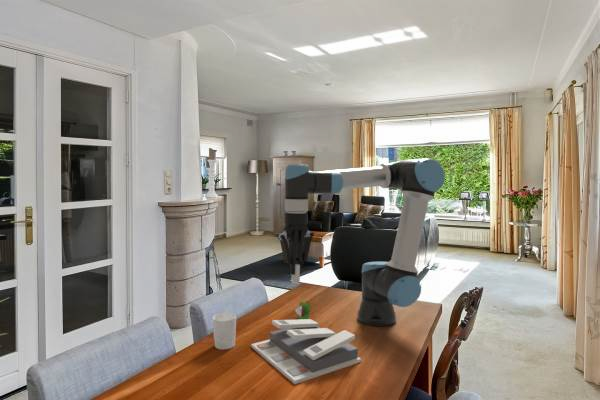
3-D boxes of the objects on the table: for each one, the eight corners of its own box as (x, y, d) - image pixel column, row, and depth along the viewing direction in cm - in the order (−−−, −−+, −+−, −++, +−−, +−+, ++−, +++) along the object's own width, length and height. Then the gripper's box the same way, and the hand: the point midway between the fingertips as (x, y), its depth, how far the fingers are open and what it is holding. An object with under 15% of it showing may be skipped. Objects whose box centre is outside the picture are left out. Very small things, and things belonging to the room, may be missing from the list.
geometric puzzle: (300, 308, 163) (296, 297, 158) (316, 310, 161) (312, 298, 156) (296, 323, 158) (291, 312, 153) (312, 325, 156) (308, 314, 151)
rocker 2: (326, 331, 134) (326, 327, 134) (335, 336, 129) (335, 332, 129) (286, 333, 125) (286, 329, 125) (294, 339, 121) (295, 335, 121)
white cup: (231, 351, 128) (231, 321, 128) (209, 349, 130) (208, 320, 129) (240, 341, 136) (239, 313, 135) (218, 339, 138) (218, 311, 137)
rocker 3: (345, 333, 125) (344, 329, 125) (355, 338, 121) (354, 334, 121) (303, 353, 117) (303, 349, 117) (313, 360, 113) (312, 356, 113)
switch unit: (310, 331, 144) (310, 321, 144) (361, 361, 121) (361, 349, 120) (251, 347, 132) (251, 335, 131) (294, 384, 108) (294, 370, 108)
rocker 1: (310, 322, 142) (310, 318, 142) (317, 326, 138) (318, 323, 138) (271, 323, 134) (272, 320, 134) (278, 328, 129) (279, 324, 129)
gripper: (306, 210, 134) (305, 278, 135) (273, 211, 126) (272, 283, 128) (319, 212, 127) (318, 283, 129) (285, 213, 120) (284, 289, 121)
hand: (295, 283), depth 128 cm, fingers closed
